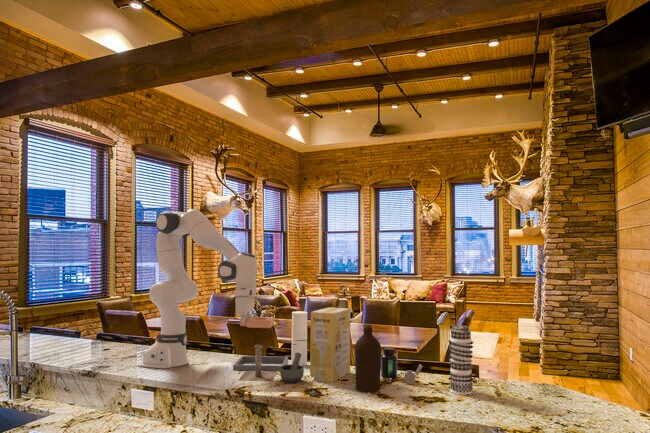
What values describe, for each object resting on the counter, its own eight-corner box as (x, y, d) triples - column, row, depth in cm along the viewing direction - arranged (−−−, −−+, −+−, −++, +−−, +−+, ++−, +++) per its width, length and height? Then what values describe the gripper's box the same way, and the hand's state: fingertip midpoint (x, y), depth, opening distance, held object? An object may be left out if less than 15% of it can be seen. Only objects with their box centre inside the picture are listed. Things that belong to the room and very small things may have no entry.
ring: (238, 327, 199) (238, 320, 199) (243, 323, 209) (243, 316, 209) (270, 328, 198) (270, 320, 199) (274, 324, 208) (274, 317, 209)
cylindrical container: (304, 369, 214) (305, 313, 215) (289, 368, 215) (290, 313, 217) (308, 365, 221) (308, 311, 222) (293, 364, 222) (294, 311, 224)
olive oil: (384, 387, 188) (384, 323, 189) (376, 394, 178) (376, 327, 179) (359, 383, 192) (359, 321, 193) (350, 391, 182) (350, 325, 184)
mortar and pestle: (295, 390, 183) (295, 358, 184) (274, 386, 187) (275, 355, 188) (309, 382, 193) (309, 352, 194) (290, 379, 197) (290, 350, 198)
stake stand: (237, 384, 190) (238, 348, 191) (244, 374, 204) (245, 341, 205) (272, 384, 189) (272, 349, 190) (277, 375, 203) (277, 342, 204)
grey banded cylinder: (471, 396, 176) (470, 328, 178) (446, 392, 181) (445, 326, 182) (476, 390, 184) (475, 325, 186) (452, 386, 189) (451, 323, 190)
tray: (232, 373, 206) (233, 365, 206) (241, 363, 224) (241, 355, 224) (283, 374, 205) (283, 366, 206) (287, 364, 223) (288, 356, 223)
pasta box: (328, 369, 214) (329, 307, 216) (350, 372, 209) (350, 308, 211) (310, 379, 198) (310, 311, 199) (332, 382, 193) (333, 313, 195)
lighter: (404, 384, 192) (404, 364, 193) (404, 382, 194) (404, 363, 194) (422, 385, 190) (422, 365, 191) (422, 384, 192) (422, 364, 192)
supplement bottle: (393, 380, 198) (393, 350, 199) (378, 377, 201) (378, 349, 202) (399, 376, 204) (399, 348, 204) (384, 374, 207) (384, 346, 208)
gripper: (244, 287, 216) (243, 318, 215) (233, 292, 195) (232, 326, 194) (258, 288, 215) (257, 318, 214) (248, 292, 195) (247, 326, 194)
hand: (245, 322), depth 204 cm, fingers closed on ring, 4 cm apart
